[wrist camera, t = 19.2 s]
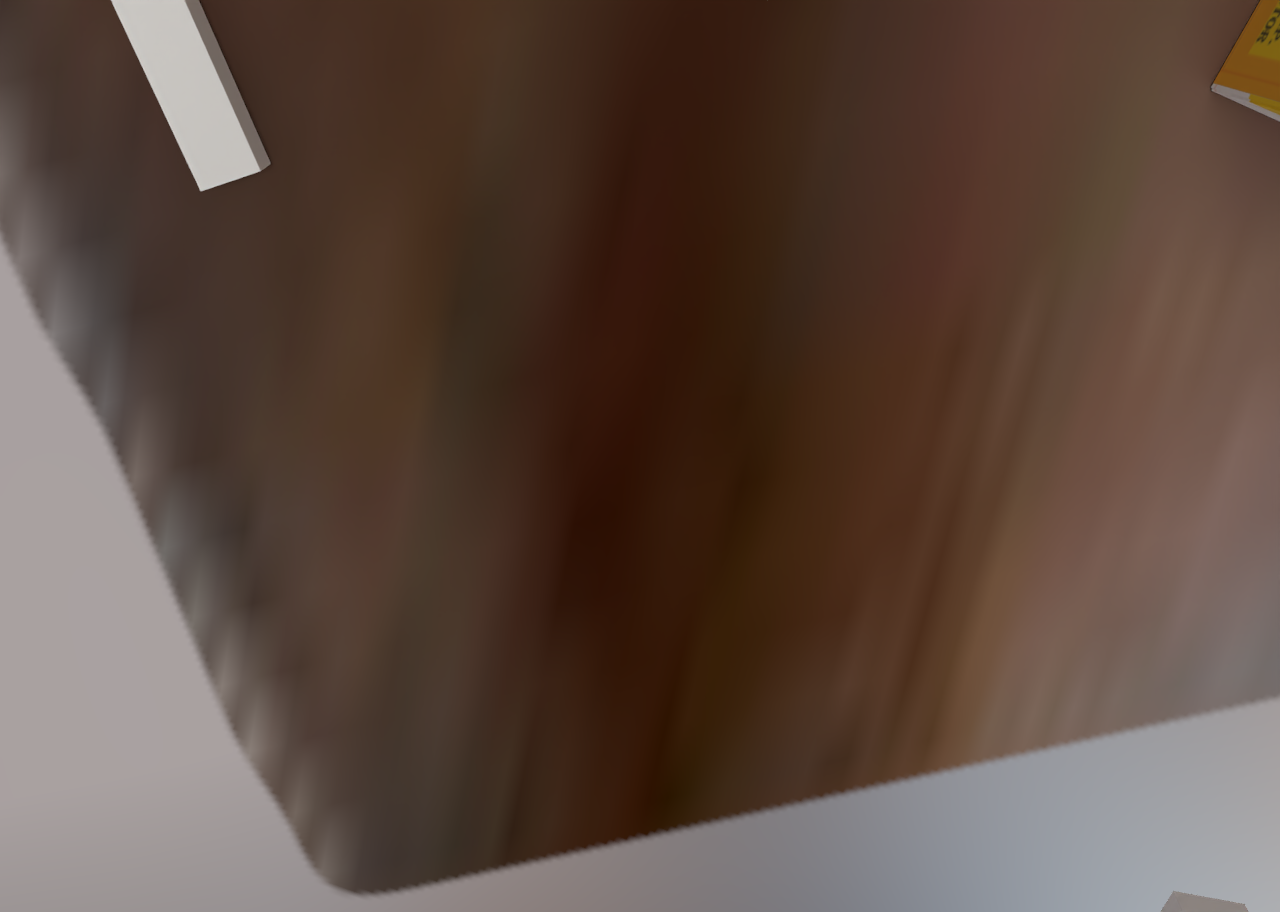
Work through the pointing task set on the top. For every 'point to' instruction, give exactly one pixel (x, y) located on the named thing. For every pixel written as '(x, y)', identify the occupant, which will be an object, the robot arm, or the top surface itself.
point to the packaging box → (1255, 63)
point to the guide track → (194, 88)
